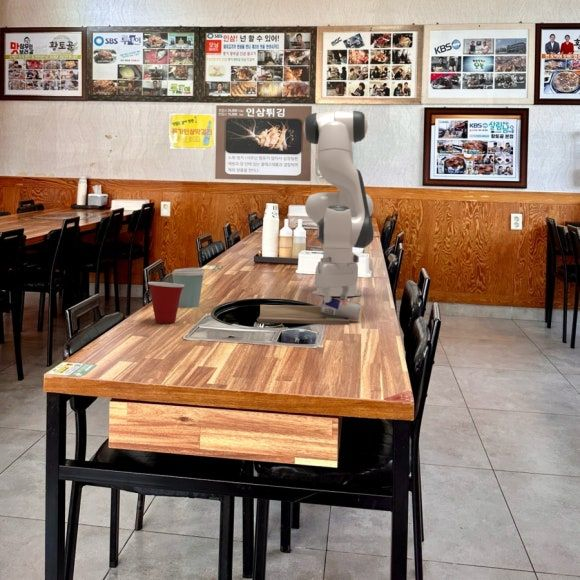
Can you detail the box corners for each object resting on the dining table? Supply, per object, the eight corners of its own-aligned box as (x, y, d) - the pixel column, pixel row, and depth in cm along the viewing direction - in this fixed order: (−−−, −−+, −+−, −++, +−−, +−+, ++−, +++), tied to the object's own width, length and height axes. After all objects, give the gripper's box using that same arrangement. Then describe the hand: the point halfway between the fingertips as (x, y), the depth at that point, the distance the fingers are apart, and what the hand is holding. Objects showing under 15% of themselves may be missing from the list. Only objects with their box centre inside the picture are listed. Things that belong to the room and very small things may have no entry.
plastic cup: (187, 324, 194) (187, 283, 193) (149, 325, 190) (149, 284, 189) (181, 319, 204) (181, 280, 203) (146, 320, 201) (146, 281, 199)
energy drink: (324, 294, 210) (361, 302, 208) (321, 310, 211) (358, 318, 209) (322, 297, 205) (360, 305, 203) (319, 314, 206) (356, 322, 204)
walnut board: (260, 317, 213) (260, 304, 213) (346, 319, 213) (346, 306, 212) (258, 322, 201) (258, 309, 201) (349, 324, 201) (349, 311, 200)
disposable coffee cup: (180, 315, 214) (180, 269, 212) (166, 311, 222) (166, 267, 221) (209, 313, 220) (209, 268, 219) (194, 309, 229) (194, 266, 227)
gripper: (327, 258, 196) (326, 304, 197) (361, 257, 212) (360, 299, 213) (310, 257, 199) (308, 302, 201) (345, 256, 216) (343, 298, 217)
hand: (335, 301), depth 207 cm, fingers open, 8 cm apart
